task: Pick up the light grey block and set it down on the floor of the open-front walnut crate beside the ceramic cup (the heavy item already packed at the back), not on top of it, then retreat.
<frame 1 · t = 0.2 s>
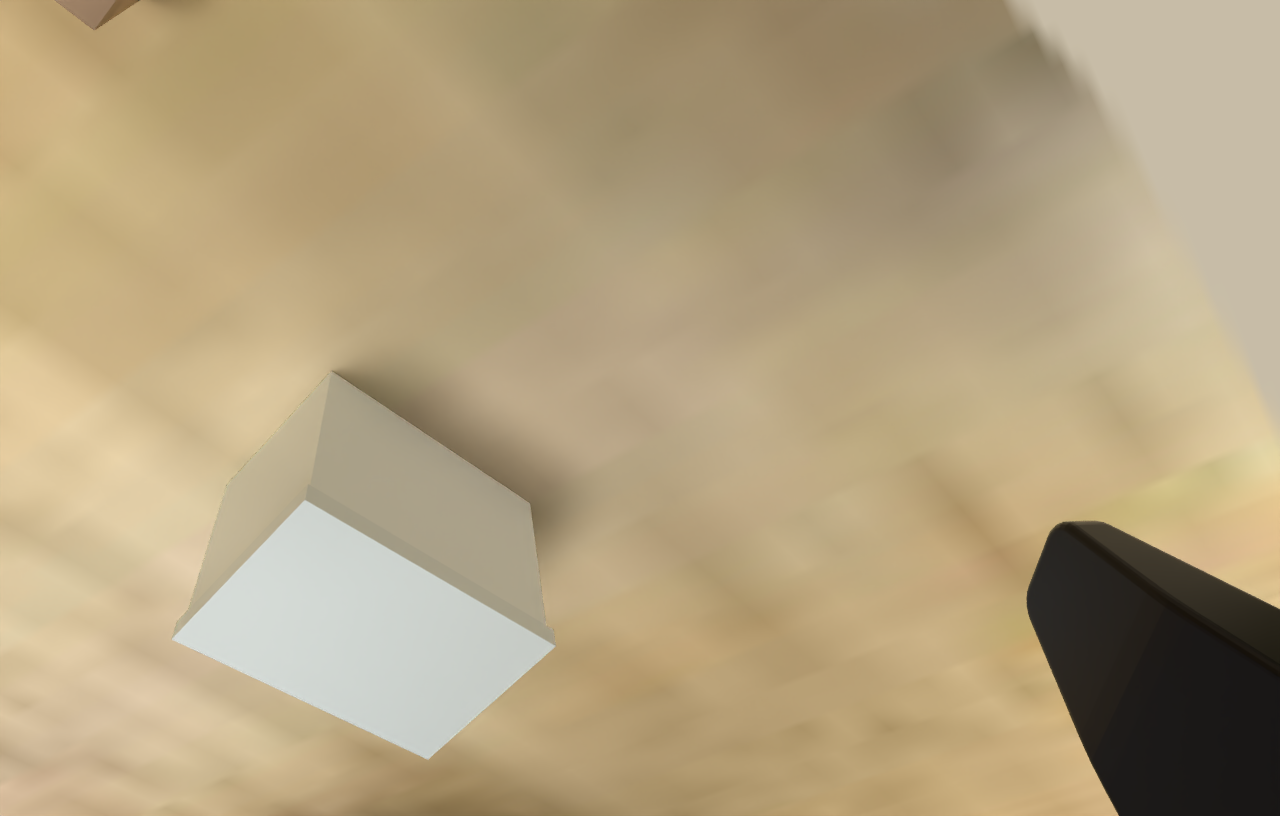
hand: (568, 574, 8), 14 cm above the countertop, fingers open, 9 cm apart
light grey block: (384, 492, 24), on the countertop
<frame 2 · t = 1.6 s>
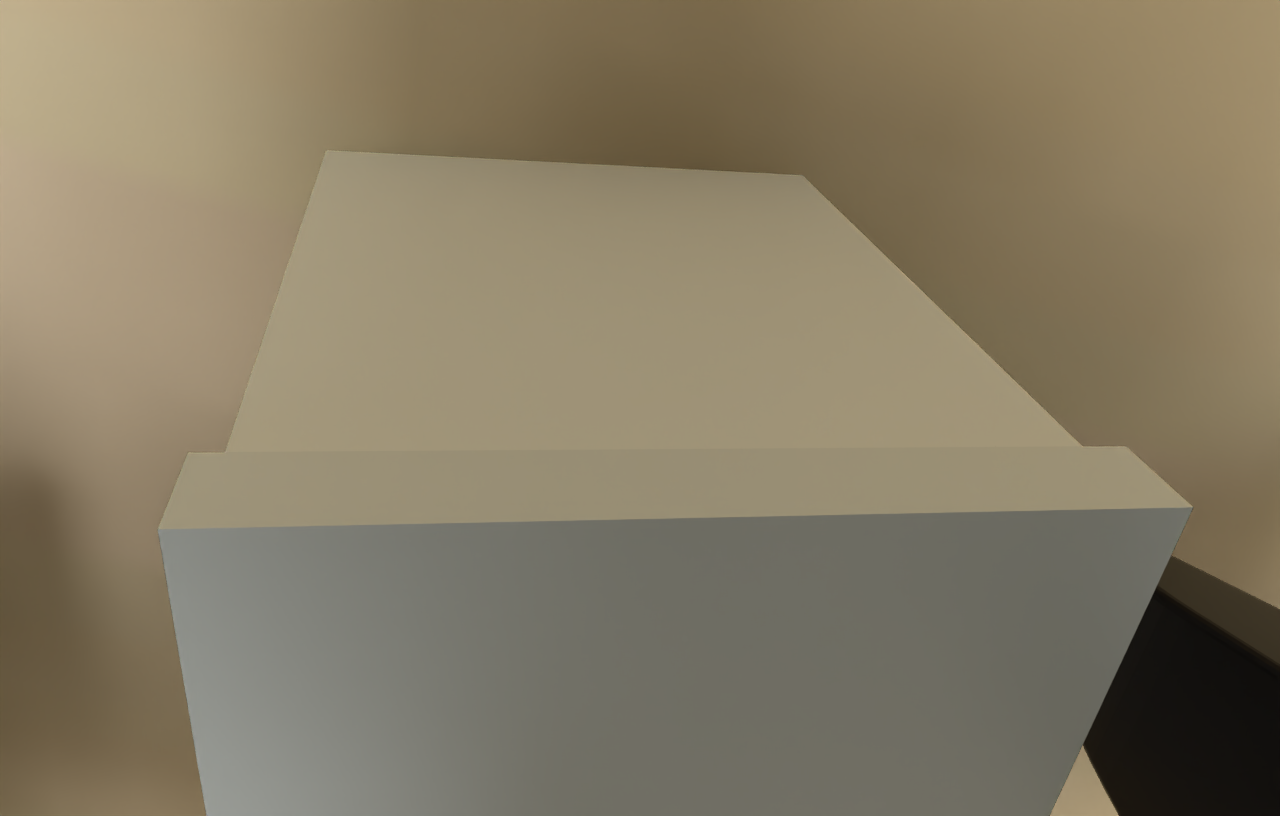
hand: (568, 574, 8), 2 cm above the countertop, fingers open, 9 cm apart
light grey block: (553, 460, 10), on the countertop
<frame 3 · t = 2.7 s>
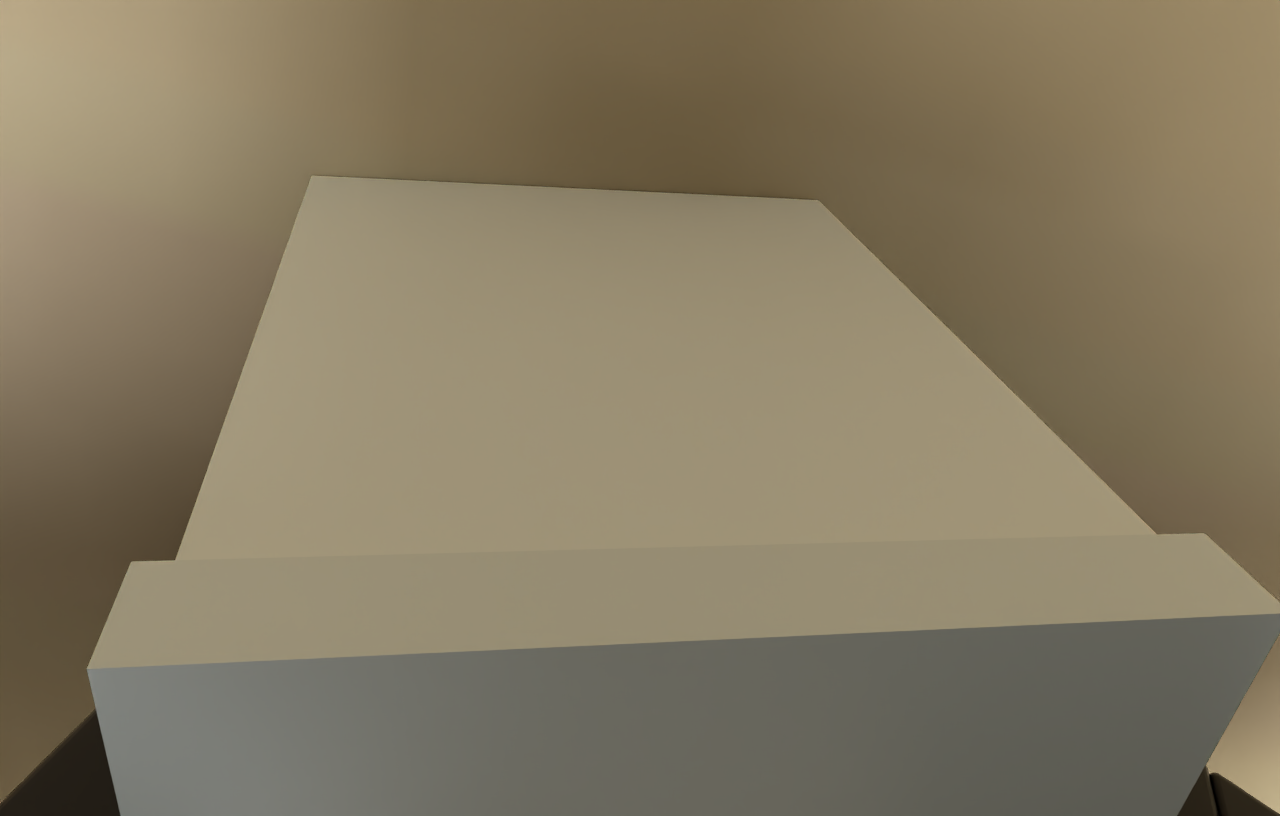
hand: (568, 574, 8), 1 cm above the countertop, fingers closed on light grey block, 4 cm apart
light grey block: (554, 501, 9), on the countertop, touching gripper
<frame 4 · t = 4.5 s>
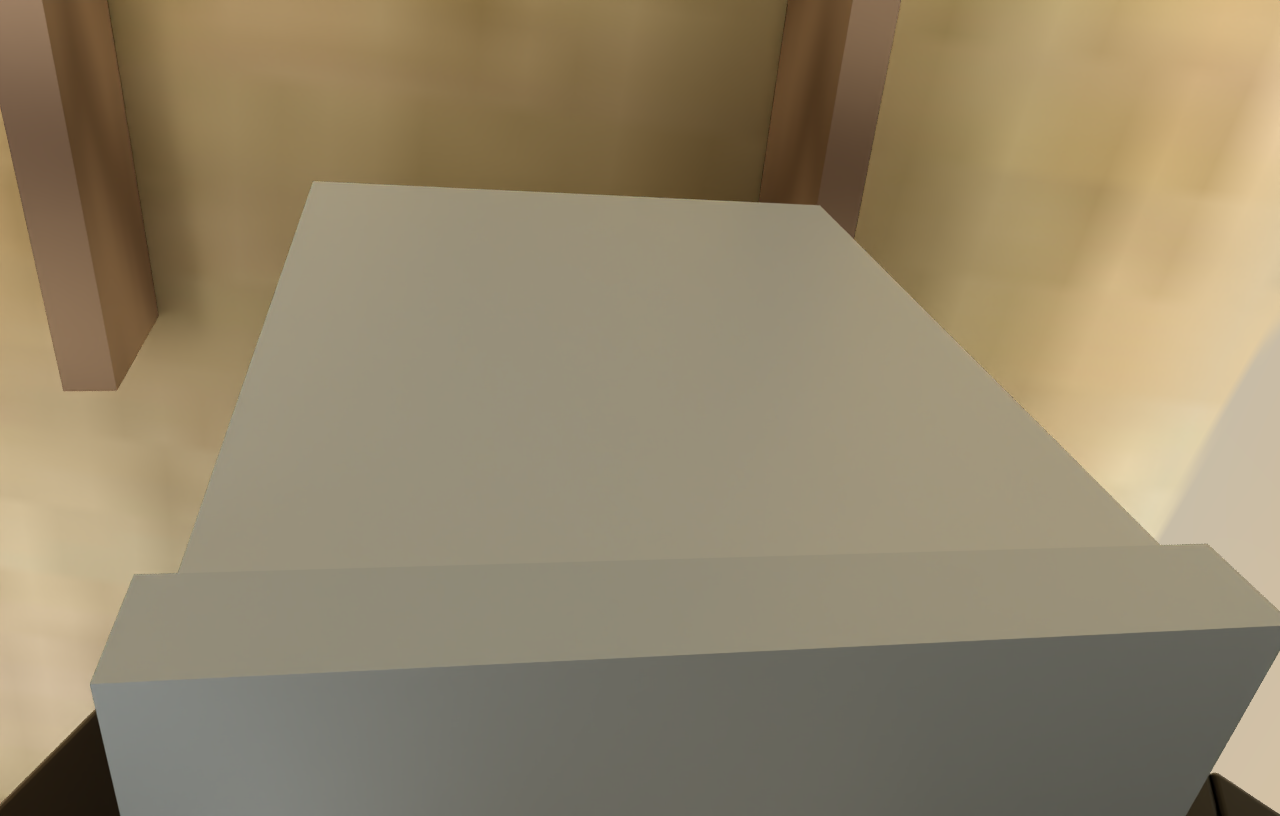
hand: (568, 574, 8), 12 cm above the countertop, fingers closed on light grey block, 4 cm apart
light grey block: (555, 505, 9), point 11 cm above the countertop, touching gripper
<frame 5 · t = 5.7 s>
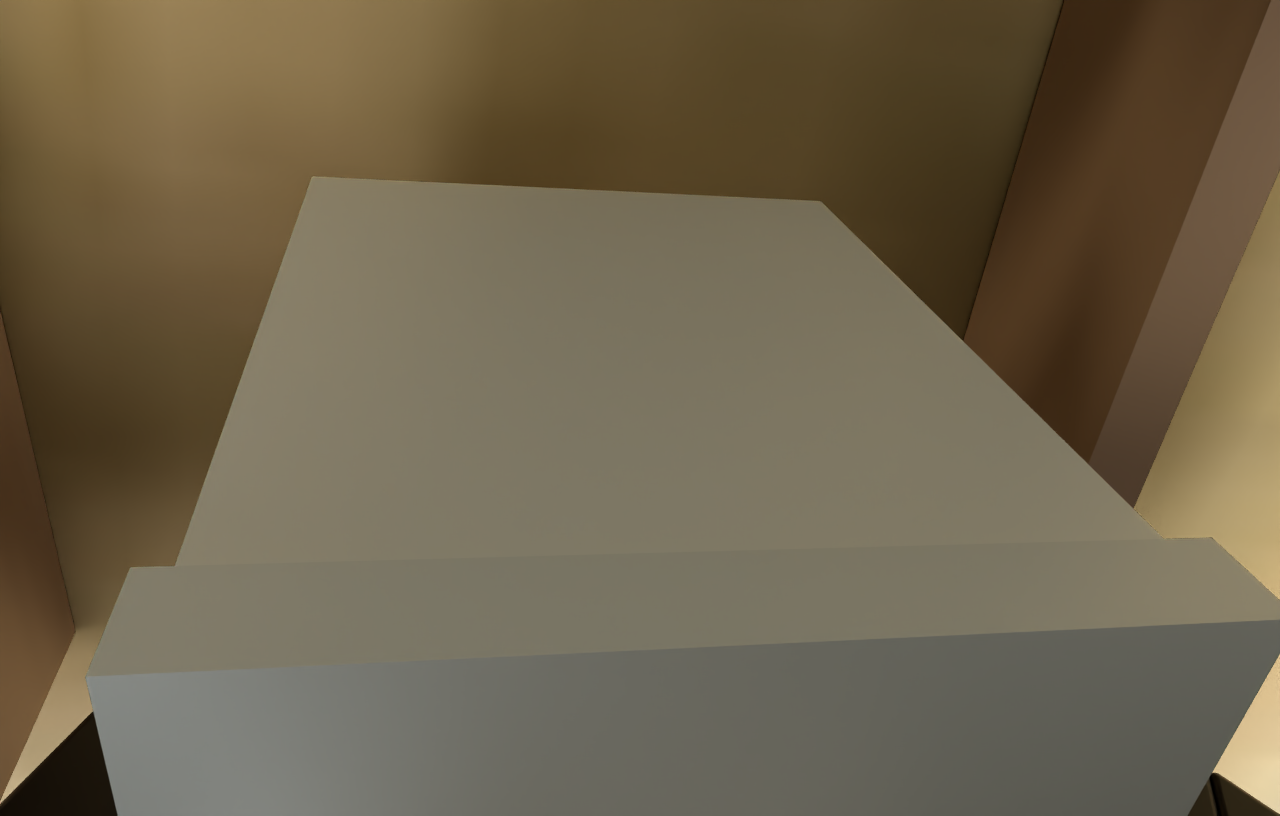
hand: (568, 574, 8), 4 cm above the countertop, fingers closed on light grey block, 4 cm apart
light grey block: (555, 502, 9), point 3 cm above the countertop, touching gripper
when the fingers open (3 cm above the countertop, at t = 6.6 s): light grey block drops 3 cm, on the countertop.
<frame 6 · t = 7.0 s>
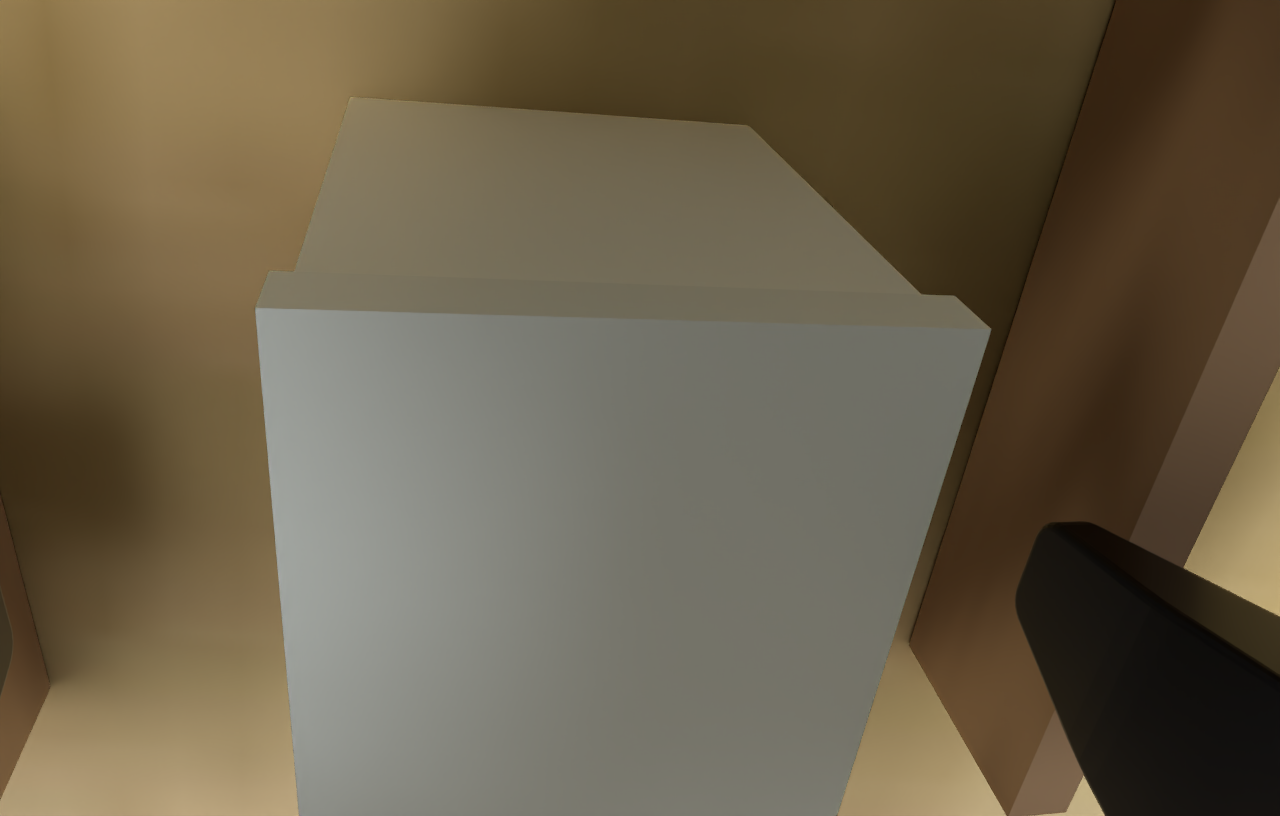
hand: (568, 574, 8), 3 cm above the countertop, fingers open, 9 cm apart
light grey block: (538, 372, 11), on the countertop
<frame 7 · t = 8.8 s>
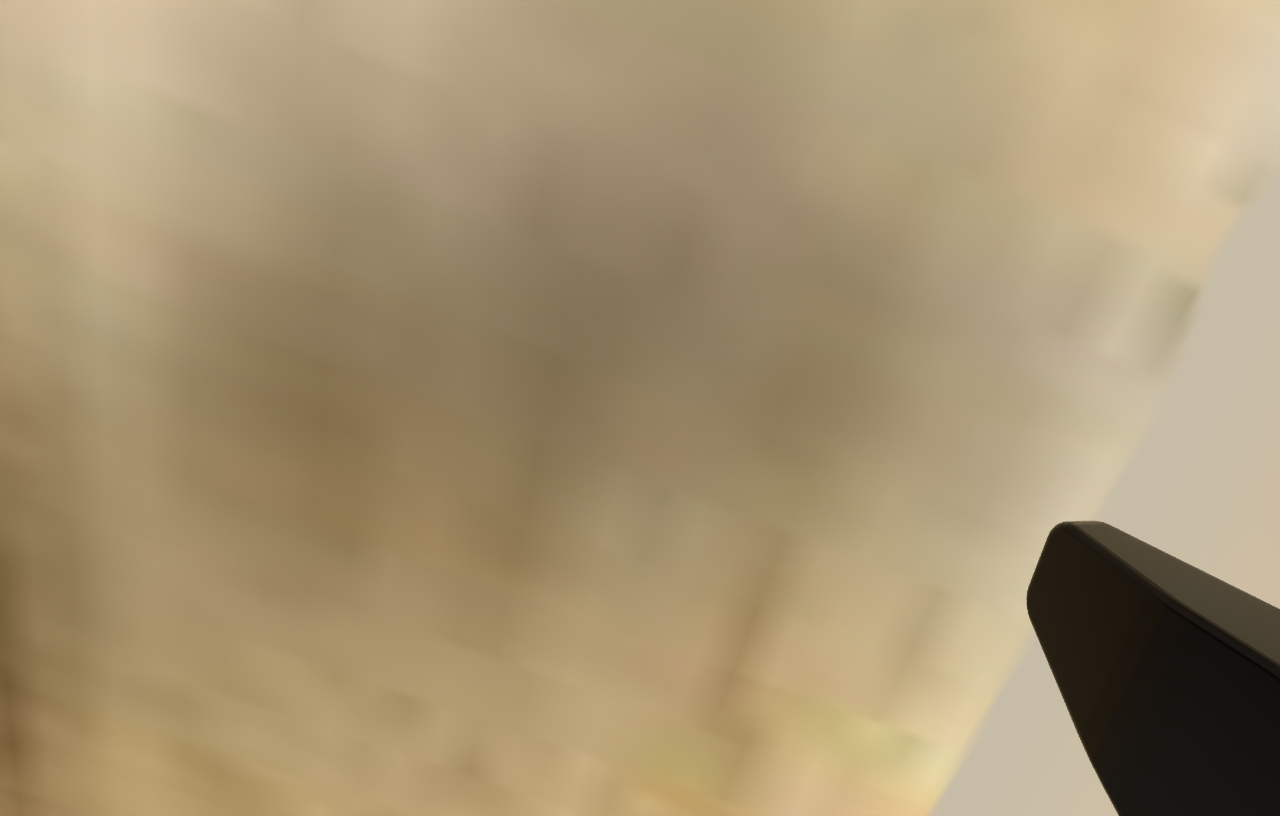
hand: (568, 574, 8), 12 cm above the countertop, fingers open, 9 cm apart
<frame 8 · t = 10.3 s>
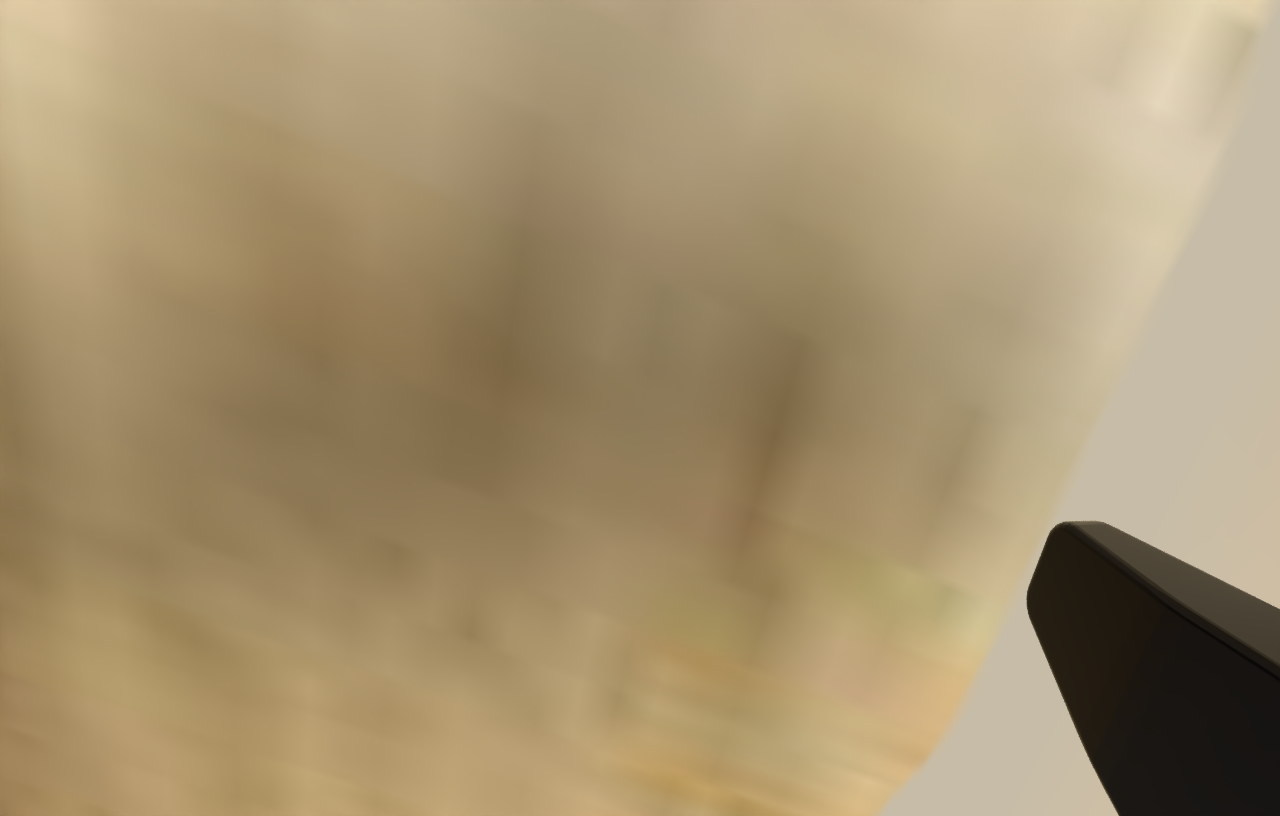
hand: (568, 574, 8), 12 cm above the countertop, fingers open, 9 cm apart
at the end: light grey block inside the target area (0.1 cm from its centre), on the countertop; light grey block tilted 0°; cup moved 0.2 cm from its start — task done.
